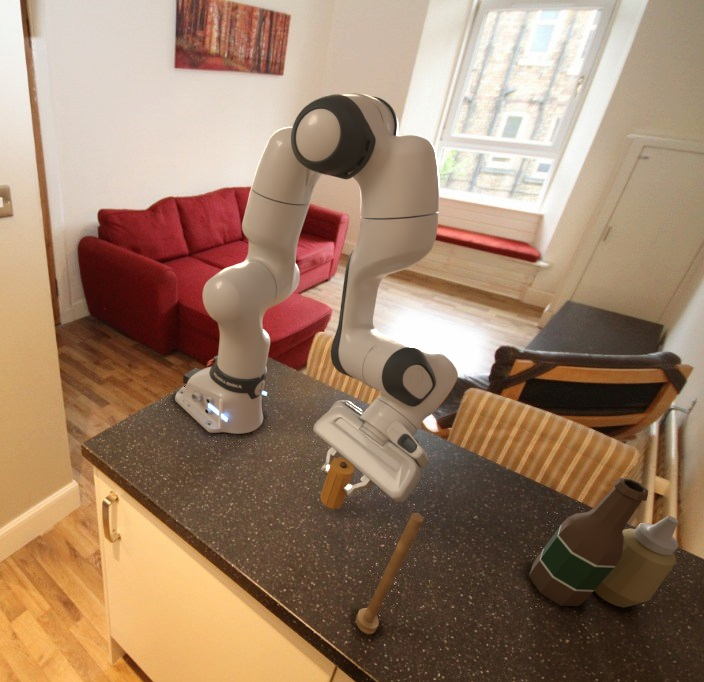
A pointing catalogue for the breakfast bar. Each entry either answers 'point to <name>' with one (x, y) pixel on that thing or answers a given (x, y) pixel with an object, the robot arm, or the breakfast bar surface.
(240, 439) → the breakfast bar surface
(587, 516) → the beer bottle
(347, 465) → the cylinder
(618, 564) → the squeeze bottle
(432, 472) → the breakfast bar surface
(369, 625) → the brown wooden rod
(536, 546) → the breakfast bar surface
